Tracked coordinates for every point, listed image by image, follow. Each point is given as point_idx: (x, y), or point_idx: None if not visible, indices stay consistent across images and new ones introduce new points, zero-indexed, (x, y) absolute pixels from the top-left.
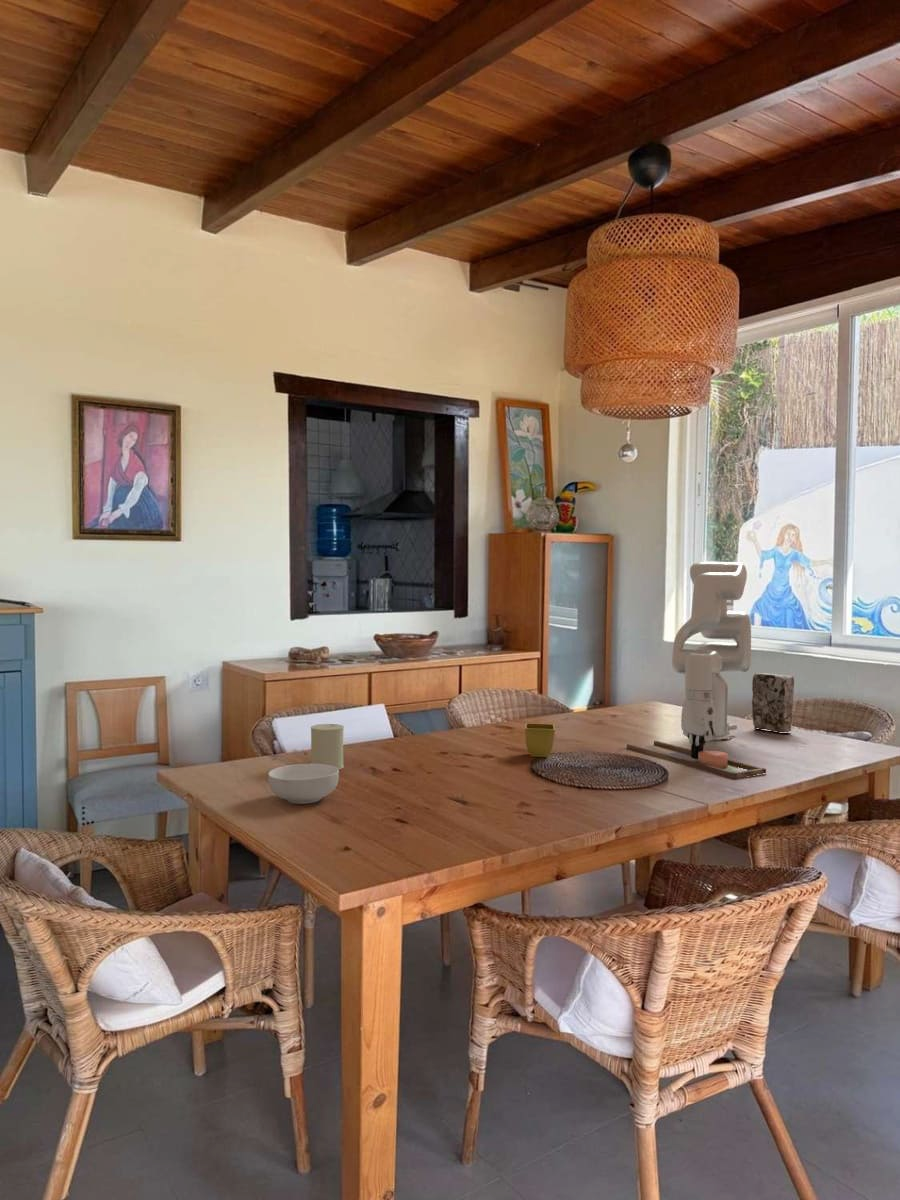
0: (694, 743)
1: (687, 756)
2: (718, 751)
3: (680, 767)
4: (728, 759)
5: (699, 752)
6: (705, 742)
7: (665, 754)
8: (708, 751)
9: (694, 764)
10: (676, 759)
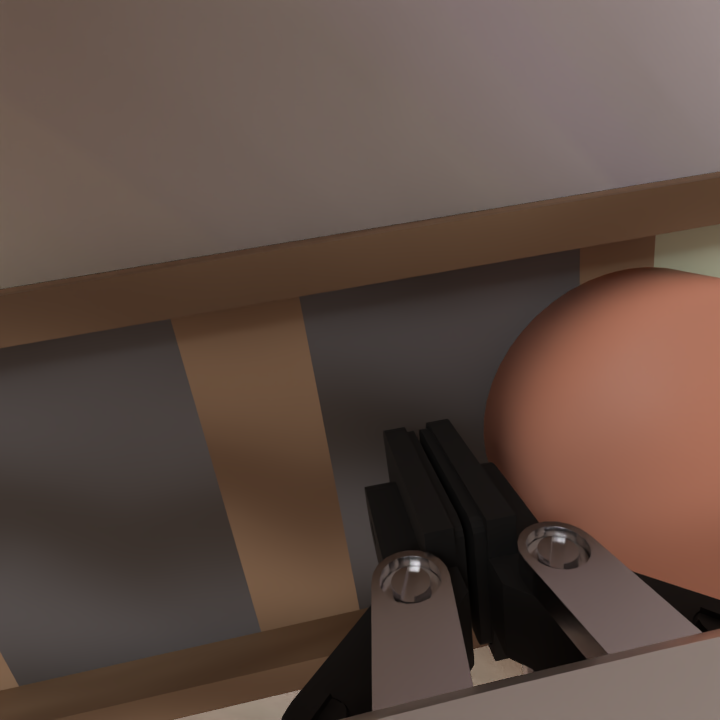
0: (466, 653)
1: (144, 421)
2: (680, 334)
3: (513, 660)
4: (683, 194)
5: None
6: (646, 576)
7: (198, 708)
8: (610, 468)
9: None
10: None
